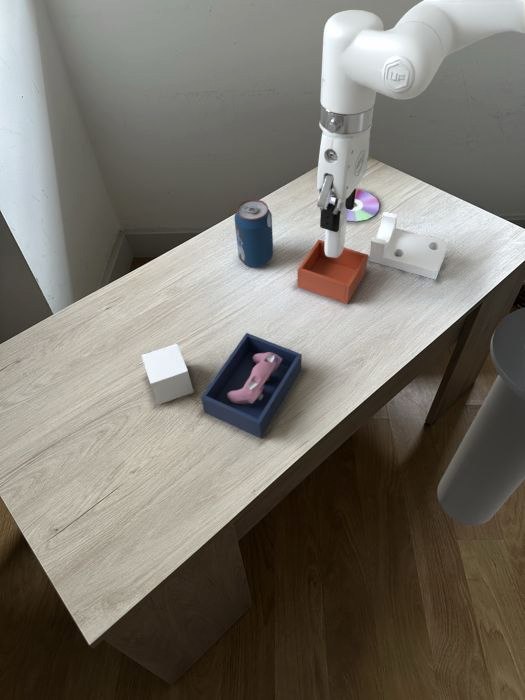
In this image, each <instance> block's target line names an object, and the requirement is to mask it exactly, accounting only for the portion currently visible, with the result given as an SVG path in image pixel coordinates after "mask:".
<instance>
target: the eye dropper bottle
mask: <svg viewBox="0 0 525 700" xmlns="http://www.w3.org/2000/svg"><path fill="white" fill-rule="evenodd" d="M330 198H331V203H332V204H335V199H336V198H333V197H330ZM345 202H346V199H345V200H341V201H340V206H339V211H341V214H340V225H339V230H338V232H333V231H330V230H327V229H325V234H324V241H325V246H324V251H325V255H326V256H327V257H332V258H338V257H339V256H340V255H341V254H342V252H343V249H344V248H345V243H346V242H345V241H346V232H347V224H348V221H347V209H346V207H345Z"/></svg>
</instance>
